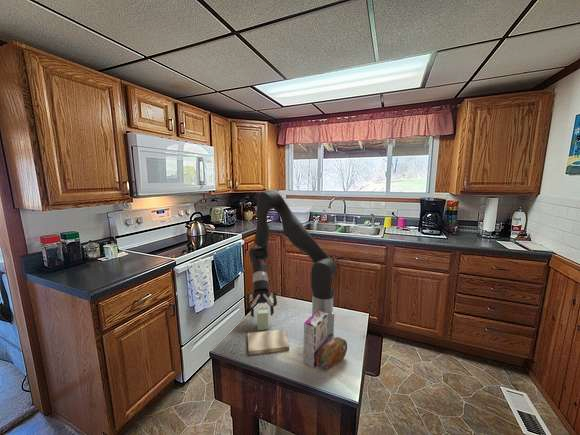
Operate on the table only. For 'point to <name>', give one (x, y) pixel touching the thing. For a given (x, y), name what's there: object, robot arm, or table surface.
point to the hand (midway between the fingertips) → (262, 315)
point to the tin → (331, 353)
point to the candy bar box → (315, 336)
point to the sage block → (262, 319)
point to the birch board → (267, 342)
